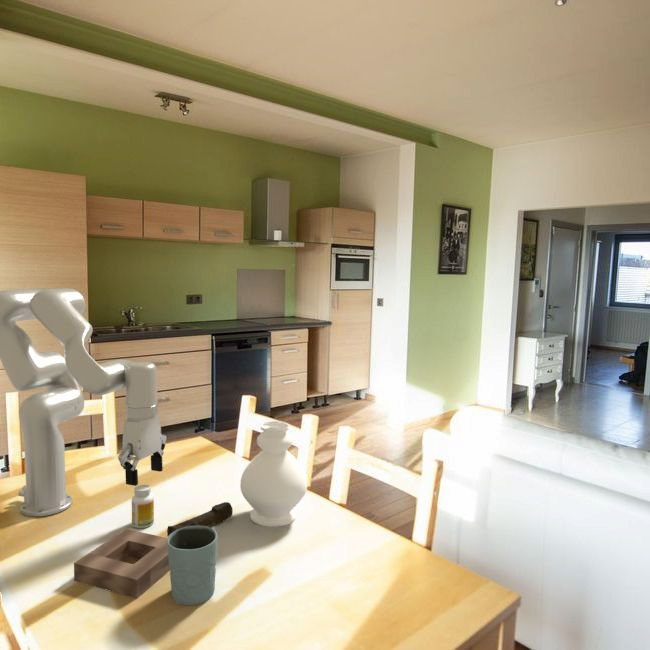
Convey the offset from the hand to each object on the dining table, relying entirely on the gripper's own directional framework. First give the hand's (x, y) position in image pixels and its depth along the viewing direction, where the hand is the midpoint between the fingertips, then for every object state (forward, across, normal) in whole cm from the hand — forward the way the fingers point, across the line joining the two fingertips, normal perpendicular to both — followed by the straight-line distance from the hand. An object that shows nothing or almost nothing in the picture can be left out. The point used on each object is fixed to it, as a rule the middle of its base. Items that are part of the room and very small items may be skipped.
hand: (144, 477), depth 138 cm
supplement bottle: (+13, 0, -1) cm, 13 cm away
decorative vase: (+14, -17, +28) cm, 35 cm away
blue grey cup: (+14, +20, +27) cm, 36 cm away
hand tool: (+13, -4, +14) cm, 20 cm away
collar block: (+13, +18, +10) cm, 24 cm away
